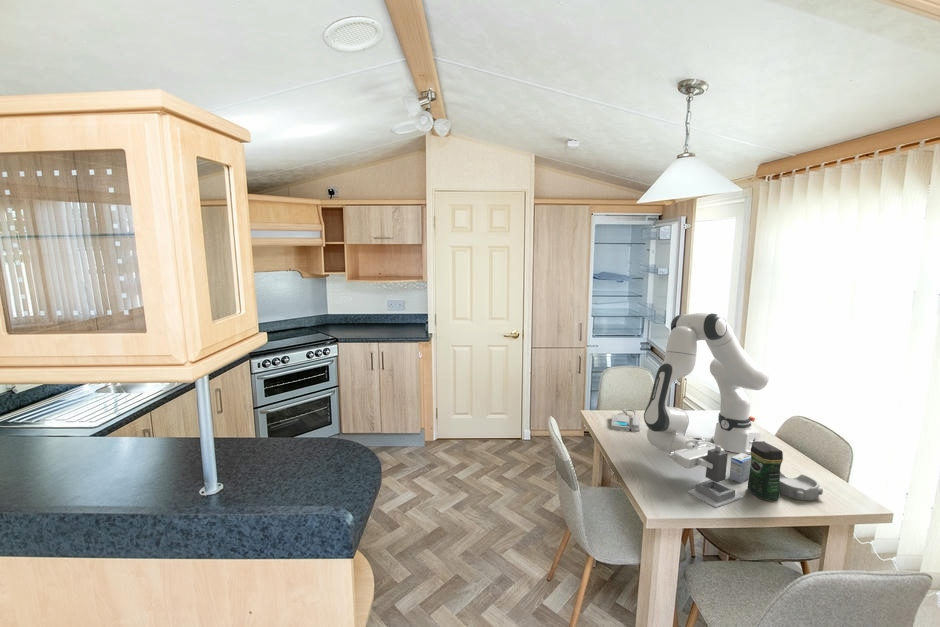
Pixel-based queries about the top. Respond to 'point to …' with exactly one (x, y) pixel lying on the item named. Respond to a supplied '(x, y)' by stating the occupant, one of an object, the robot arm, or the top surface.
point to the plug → (717, 464)
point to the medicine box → (740, 467)
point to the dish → (800, 487)
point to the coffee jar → (765, 470)
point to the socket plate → (715, 493)
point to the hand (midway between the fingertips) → (719, 464)
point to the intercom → (626, 422)
